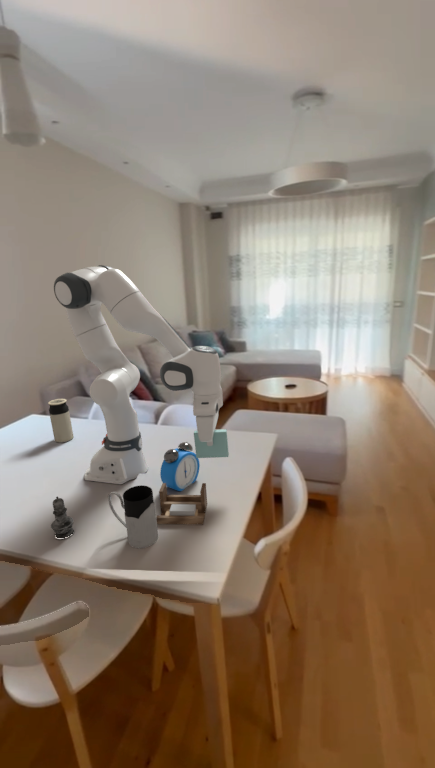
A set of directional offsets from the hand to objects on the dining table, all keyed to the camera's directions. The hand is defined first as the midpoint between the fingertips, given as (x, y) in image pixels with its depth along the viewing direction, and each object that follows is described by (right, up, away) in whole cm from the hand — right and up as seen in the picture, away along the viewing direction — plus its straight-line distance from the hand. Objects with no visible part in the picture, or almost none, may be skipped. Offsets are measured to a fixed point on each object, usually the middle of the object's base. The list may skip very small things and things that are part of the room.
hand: (210, 442), depth 117 cm
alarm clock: (-10, -17, +9) cm, 21 cm away
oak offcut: (-8, -20, -9) cm, 23 cm away
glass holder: (-20, -24, -15) cm, 35 cm away
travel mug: (-67, -7, +53) cm, 85 cm away
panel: (+1, -4, +1) cm, 5 cm away
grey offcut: (-8, -18, -9) cm, 22 cm away
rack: (-8, -21, -7) cm, 23 cm away
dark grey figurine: (-41, -24, -11) cm, 49 cm away
